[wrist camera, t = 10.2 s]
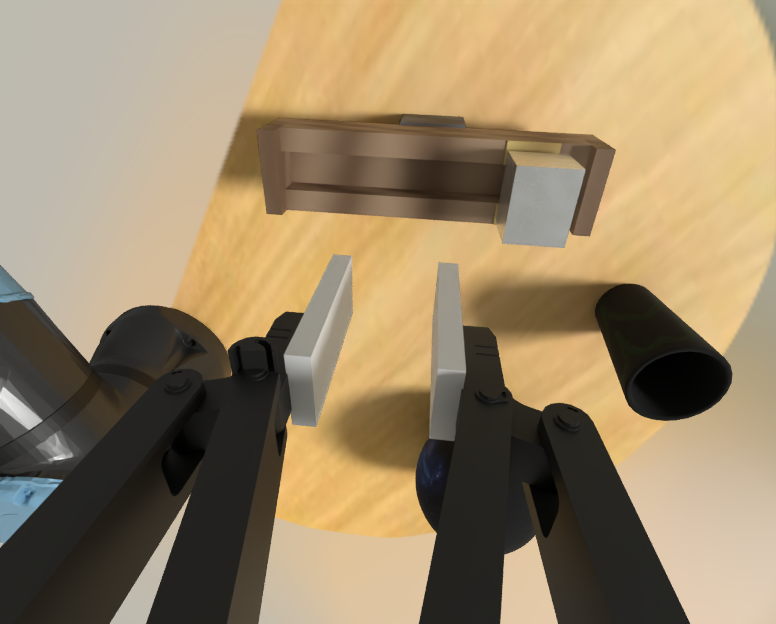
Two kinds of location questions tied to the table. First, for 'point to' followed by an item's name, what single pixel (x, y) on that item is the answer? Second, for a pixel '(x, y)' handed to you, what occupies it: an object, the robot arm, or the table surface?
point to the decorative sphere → (433, 487)
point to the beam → (412, 168)
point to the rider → (538, 198)
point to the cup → (659, 356)
